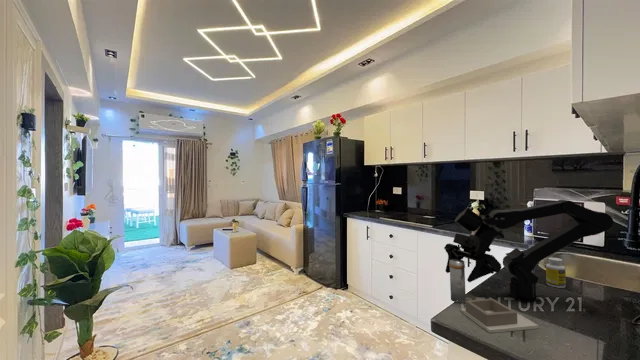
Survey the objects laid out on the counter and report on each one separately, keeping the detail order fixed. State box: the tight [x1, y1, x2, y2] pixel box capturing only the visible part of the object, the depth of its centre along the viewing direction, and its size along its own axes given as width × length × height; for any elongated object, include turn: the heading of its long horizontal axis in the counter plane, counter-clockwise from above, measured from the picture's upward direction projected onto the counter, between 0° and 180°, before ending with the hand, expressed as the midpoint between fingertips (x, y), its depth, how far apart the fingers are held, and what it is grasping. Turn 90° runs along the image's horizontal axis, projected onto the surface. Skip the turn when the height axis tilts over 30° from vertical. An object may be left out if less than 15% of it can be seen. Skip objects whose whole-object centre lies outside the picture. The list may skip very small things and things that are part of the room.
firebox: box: [459, 298, 539, 334], centre depth 76 cm, size 14×12×4 cm
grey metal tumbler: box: [449, 259, 467, 304], centre depth 88 cm, size 5×5×13 cm
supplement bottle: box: [545, 257, 567, 289], centre depth 98 cm, size 5×5×10 cm
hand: (456, 276), depth 88 cm, fingers open, 9 cm apart
